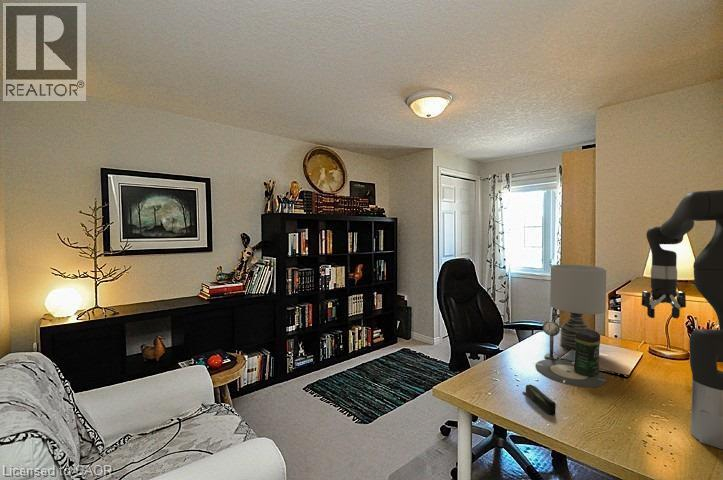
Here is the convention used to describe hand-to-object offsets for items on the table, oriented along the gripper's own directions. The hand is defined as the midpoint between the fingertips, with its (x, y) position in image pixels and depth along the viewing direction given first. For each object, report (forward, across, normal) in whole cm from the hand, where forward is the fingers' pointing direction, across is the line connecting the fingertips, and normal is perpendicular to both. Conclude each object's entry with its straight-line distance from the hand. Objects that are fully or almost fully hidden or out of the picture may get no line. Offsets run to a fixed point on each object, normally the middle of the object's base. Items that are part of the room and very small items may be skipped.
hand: (663, 317), depth 126 cm
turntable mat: (+28, +30, -10) cm, 42 cm away
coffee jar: (+28, +23, -10) cm, 37 cm away
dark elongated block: (+29, +54, +17) cm, 63 cm away
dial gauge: (+27, +30, -25) cm, 48 cm away
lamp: (+27, +10, -41) cm, 50 cm away
